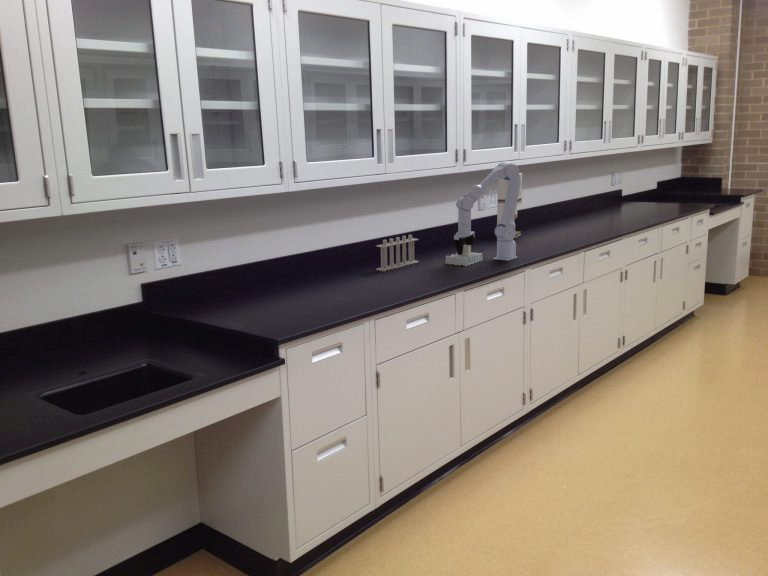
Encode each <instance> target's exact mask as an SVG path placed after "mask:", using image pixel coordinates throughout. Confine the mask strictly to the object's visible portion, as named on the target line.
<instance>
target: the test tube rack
mask: <svg viewBox="0 0 768 576" xmlns="http://www.w3.org/2000/svg"><path fill="white" fill-rule="evenodd" d="M400 239H401V240H400ZM419 240H420V239H419V238H414V237H413V234H408V238H407V236H406V235H402V237H400V236H396V237H395V241H394V238H392V237H391V238H389V242H388V240H387V239H383V240H382V244H378V245H375V246H376V247H377V248H380V267H378V268H376V269H375V270H376V271H378V270H379V272H387V271H386V270H388V271H391V270H395V269H399V268H402V267H407V266H411V265H415V264H418V262H419V263H420V261H419V260H415V242H416V241H419ZM407 243H408V248H407ZM394 246H395V248H394ZM388 247H389V265H388ZM401 247H402V249H401ZM394 249H395V253H394ZM407 249H408V260H407ZM401 250H402V253H401ZM401 254H402V257H401ZM394 255H395V256H394ZM395 257H396V258H395ZM401 258H402V262H401ZM395 259H396V260H395ZM394 260H395V261H396V263H395V262H394ZM414 263H415V264H414ZM410 264H411V265H410ZM406 265H407V266H406ZM394 268H395V269H394ZM390 269H391V270H390Z"/></svg>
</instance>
